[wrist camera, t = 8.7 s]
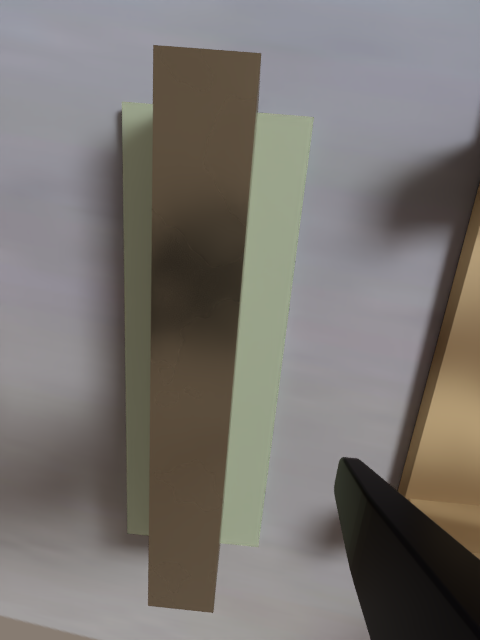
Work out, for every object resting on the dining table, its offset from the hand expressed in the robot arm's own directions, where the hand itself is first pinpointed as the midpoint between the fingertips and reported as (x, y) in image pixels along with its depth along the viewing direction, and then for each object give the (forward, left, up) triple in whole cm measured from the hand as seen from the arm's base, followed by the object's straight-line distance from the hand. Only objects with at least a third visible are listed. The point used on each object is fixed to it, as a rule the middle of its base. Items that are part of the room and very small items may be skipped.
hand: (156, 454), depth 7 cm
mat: (0, 0, -6) cm, 6 cm away
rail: (0, 0, -6) cm, 6 cm away
